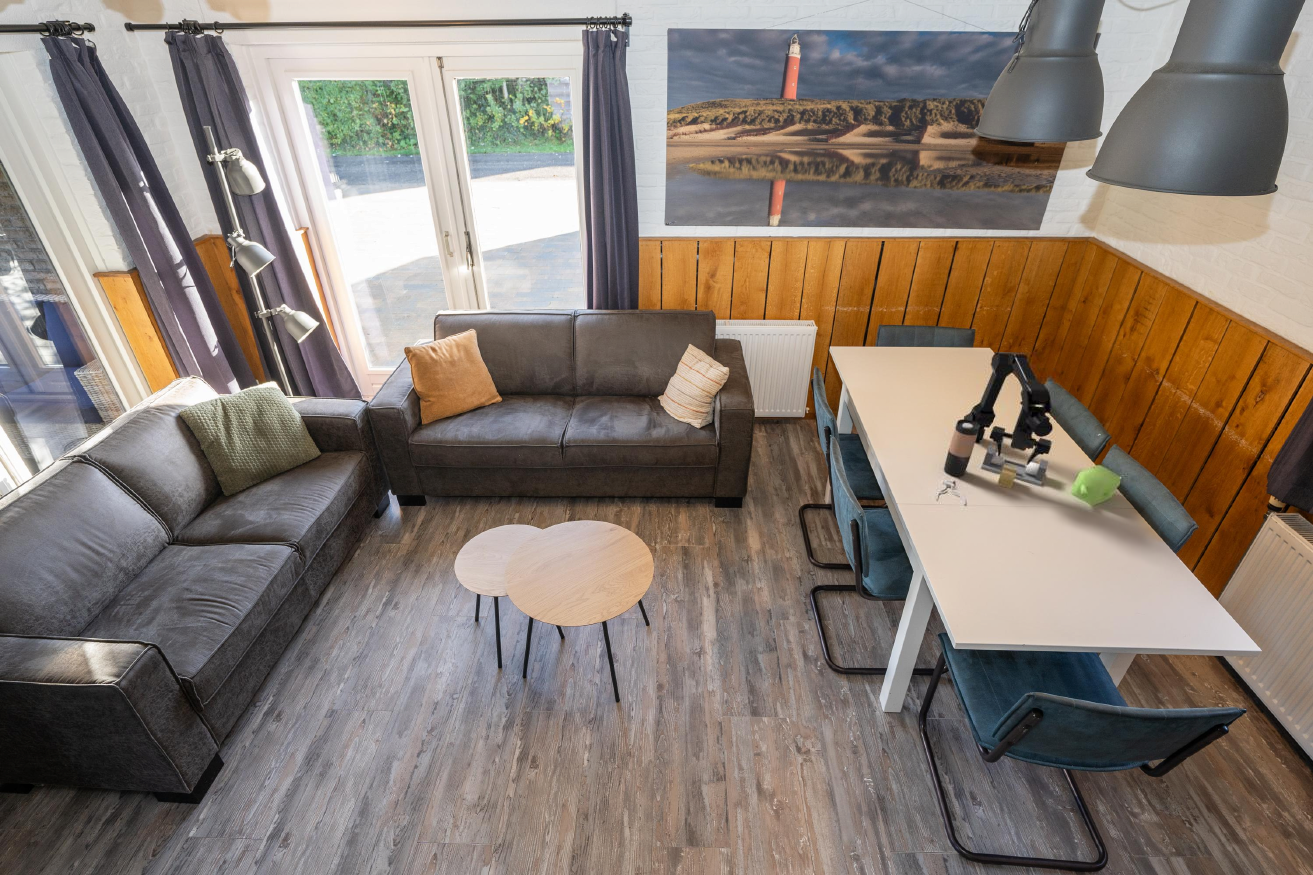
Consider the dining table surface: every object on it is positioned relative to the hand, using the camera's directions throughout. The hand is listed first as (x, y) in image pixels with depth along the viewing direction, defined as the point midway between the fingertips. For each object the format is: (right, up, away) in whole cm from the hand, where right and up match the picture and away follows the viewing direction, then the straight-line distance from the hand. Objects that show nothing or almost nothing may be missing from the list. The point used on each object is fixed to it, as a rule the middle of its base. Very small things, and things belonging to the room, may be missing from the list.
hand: (1012, 460), depth 234 cm
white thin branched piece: (-23, -11, 0) cm, 25 cm away
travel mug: (-16, -5, +10) cm, 20 cm away
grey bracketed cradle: (+6, -4, +12) cm, 14 cm away
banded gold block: (0, -8, +5) cm, 10 cm away
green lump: (+26, -13, -2) cm, 30 cm away
